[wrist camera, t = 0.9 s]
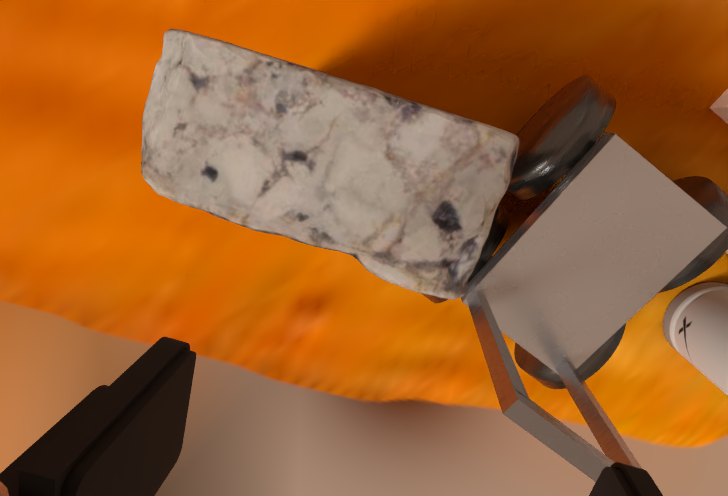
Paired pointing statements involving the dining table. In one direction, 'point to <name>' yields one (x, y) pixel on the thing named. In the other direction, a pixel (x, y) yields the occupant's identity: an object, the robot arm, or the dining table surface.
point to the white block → (721, 106)
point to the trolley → (583, 263)
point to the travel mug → (701, 329)
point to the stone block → (324, 161)
